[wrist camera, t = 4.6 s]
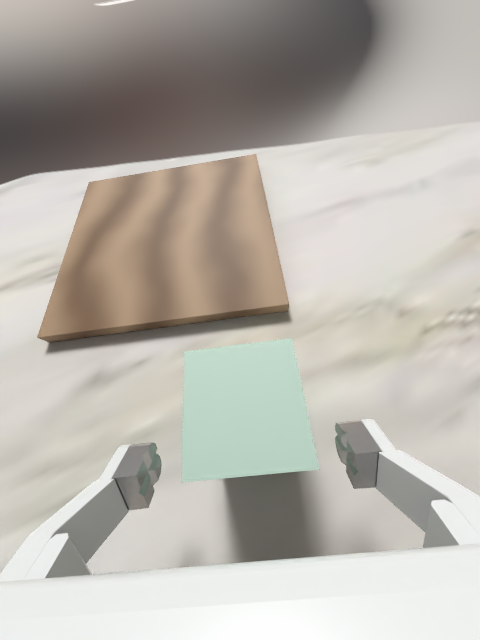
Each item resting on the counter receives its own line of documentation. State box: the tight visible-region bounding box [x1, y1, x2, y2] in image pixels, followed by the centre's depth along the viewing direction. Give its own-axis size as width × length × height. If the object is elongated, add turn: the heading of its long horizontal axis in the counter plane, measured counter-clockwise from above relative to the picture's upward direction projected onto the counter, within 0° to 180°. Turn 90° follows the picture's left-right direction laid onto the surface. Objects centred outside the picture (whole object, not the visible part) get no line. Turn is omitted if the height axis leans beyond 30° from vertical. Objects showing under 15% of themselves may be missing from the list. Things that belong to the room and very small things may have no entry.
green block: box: [181, 338, 320, 482], centre depth 13 cm, size 5×5×8 cm
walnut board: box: [37, 154, 289, 342], centre depth 25 cm, size 22×22×1 cm
